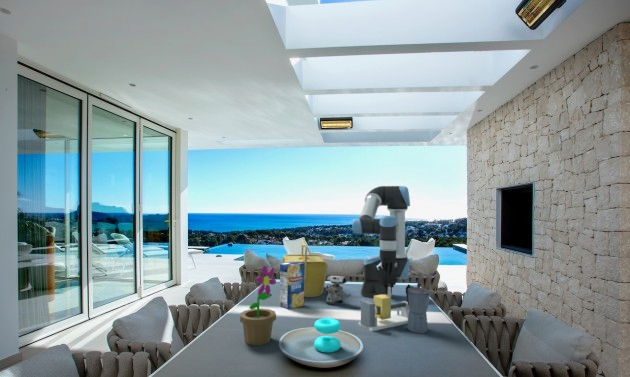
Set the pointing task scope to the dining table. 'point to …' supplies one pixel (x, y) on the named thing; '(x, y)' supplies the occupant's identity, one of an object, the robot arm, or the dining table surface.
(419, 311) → the moka pot
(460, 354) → the dining table surface
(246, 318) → the flowerpot
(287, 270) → the beverage box
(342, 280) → the figurine
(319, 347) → the donuts
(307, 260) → the picnic basket
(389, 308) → the yellow block on rod
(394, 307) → the linear slide rail
